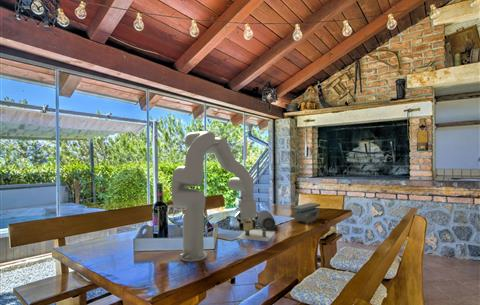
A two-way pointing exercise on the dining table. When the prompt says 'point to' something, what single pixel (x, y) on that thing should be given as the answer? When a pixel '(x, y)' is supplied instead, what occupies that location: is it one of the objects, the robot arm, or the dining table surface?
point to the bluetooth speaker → (266, 220)
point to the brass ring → (248, 225)
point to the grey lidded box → (306, 212)
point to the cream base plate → (257, 235)
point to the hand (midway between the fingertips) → (247, 228)
